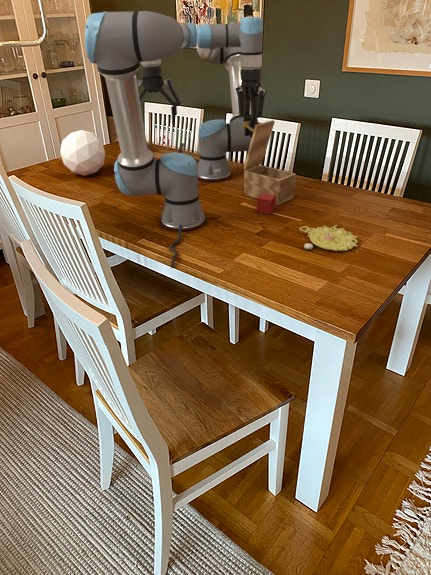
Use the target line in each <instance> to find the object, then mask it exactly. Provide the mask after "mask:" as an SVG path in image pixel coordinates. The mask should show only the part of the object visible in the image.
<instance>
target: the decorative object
mask: <svg viewBox="0 0 431 575" xmlns="http://www.w3.org/2000/svg"><path fill="white" fill-rule="evenodd" d="M303 228H304V229H305V230H304V229H303ZM299 231H300V232H303V233H305V234H307V237H308V238H309V240H310V241H311V243H304V244H303V248H304V249H305V250H313V249H314V245H315V246H316V247H318V248H321V249H324V250H328V251H335V252H341V251H348V250H352V249H354V247H356V248H358V247H359V245H358V244H357V243H359V240H357V238H359V237H358V235H353V234H352V231H347V230H346V229H345V228H344V227H342V228H338V224H335V225H333V226H331V227H328V226H327V225H326V224H325V225H323V226H322V227H321V226H317V227H316V228H314V227H309V226H308V225H302V226H300V227H299ZM313 244H314V245H313Z"/></svg>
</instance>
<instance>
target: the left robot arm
mask: <svg viewBox="0 0 431 575" xmlns="http://www.w3.org/2000/svg"><path fill="white" fill-rule="evenodd" d="M84 48H85V54H86V58H87V60H88V62H89V63H91V64H93V65H95V64H96V68H97V72H98V73H99V74H100V75H102V77H104V79H105V83H106V88H107V92H108V93H107V94H108V97H109V103H110V107H111V112H112V117H113V121H114V126H115V131H116V137H117V140H118V145H119V148H120V153H119V154H118V156H117V159H116V160H115V162H114V165H113V171H114V179H115V182H116V185H117V187H118V189H119V191H120V192H121V193H122V194H124V195H127V196H135V197H136V196H164V204H163V209H162V213H161V219H160V220H161V225H162V227H163V228H165V229H167V230H170V231H175V232H176V231H177V232H178V233H177V239H176V240H175V241H173V242H172V243H171V244H169V249H170V250H171V251H172V252H173V253H174V254H173V256H172V258H171V261H170V262H171V263H170V268H171V269H174V268H175V261H176V259H177V257H178V251H177V250H176V249H175V248H173V247H174V246H176V245H177V244H179V243H180V241H181V238H182V232H185V231H186V232H187V231H192V230H195V229H198V228H201V227H202V226H203V225H204V224H205V223H206V216H205V212H204V210H203V208H202V204H201V202H200V196H199V179H198V176H197V175H198V171H197V169H198V164H197V161H196V160H195V159H196V158H194V157H193V156H191V155H189V154H186V153H182V152H181V153H179V152H170V153H169V152H166V153H163V154H162V155H161V156H160V158H155V156H154V153H153V151H152V150H150V149H149V146H148V147H147V145H148V141H147V135H146V129H145V124H144V117H143V116H144V115H143V112H142V104H141V101H142V100H143V98H144V97H145V95H146V94H147V93H149V94H152V93H159V92H160V94H162V96H163V97H164V98H165V99H166V100H167V101H168V102H169V104H170V105H171V106H170V110H171V122H172V124H171V125H172V126H175V125H176V119H175V117H176V116H177V115H178V106H181V103H182V101H181V99H180V97H179V96H178V94H177V92H176V90H175V88H174V86H173V84H172V80H171V78H168V79H164V78H163V69H162V66H161V64H162V59H165V58H168V57H171V56H173V55H175V54H177V53H178V52H179V51H180V50H181V49H189V50H190V49H194V48H197V25H196V24H195V23H194V22H179V21H178V20H177V19H175V18H174V17H172V16H169V15H165V14H162V13H159V12H154V11H150V10H149V11H148V10H139V11H106V10H105V11H103V12H102V11H101V12H94V13H91V14H89V16H88V17H87V19H86V22H85V27H84ZM140 68H141V80H139V79H137V72H138V71H139V70H140ZM141 85H142V86H143V88H144V89H143V90H142V92H141V94H140V92H139V87H140V86H141ZM164 85H166V87H168V89H169V91H170V93H171V95H172V96H173V98H174V99H173V98H172V97H171V96H170V95H169V93H167V91H166V90H165V88H164V87H163V86H164Z"/></svg>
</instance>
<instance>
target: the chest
mask: <svg viewBox="0 0 431 575" xmlns="http://www.w3.org/2000/svg"><path fill="white" fill-rule="evenodd" d="M296 177H297V174H296V173H294V172H290V171H287V170H282V169H278V168H274V167H271V166H267V165H263V164H261V165H258V166H255V167H252V168H250V169H247V170H244V171H243V178H244V179H243V195H245V196H247V197H251V198H254V199H257V198H258V197H259V196H260V195H261V194H262V193H265V194H272V195H276V206H280V205H282V204H283V203H286V202H288V201H290V200H292V199H295V192H296V179H297V178H296Z"/></svg>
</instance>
